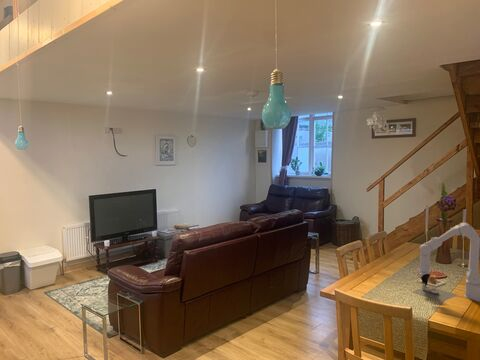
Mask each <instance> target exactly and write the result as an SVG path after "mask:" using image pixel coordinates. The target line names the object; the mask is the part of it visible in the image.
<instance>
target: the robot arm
mask: <svg viewBox="0 0 480 360" xmlns="http://www.w3.org/2000/svg"><path fill="white" fill-rule="evenodd" d="M461 235H462V236H464V237H466V238H467V239H468V240H469V256H468V266H467V270H466V271H465V276H466V280H465V294H463V296H464V297H465V298H466V299H469V300H472V301H475V302H480V270H479V265H480V262H479V261H480V236H479V234H478V233H477V232H476V230H475V229H474V227H473V226H472V225H470V224H469V223H467V222H460V223H459V224H457V225H454V226H453V227H452V228H450V229H448V230H447V231H446V232H445V233H443V234H442V235H440V236H439V237H438V236H433V237H431V238H430V240H428V241H427V242H424V243H422V244H420V246H419V251H420V253H419V269H417V271H418V273H417V275H418V277H419V278H420V280H422V282H425V283H426V284H425V286H426V287H427V286H428V285H427V283H428V279H429V277H430V275H431V272H432V268H431V256H430V254H431V252H433V251H434V250H436V249H438V248H439V247H440V246H441V247H442V245H443V242H445V241H446V240H448V239H450V238H452V237H453V236H461Z"/></svg>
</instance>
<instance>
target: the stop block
mask: <svg viewBox="0 0 480 360" xmlns="http://www.w3.org/2000/svg"><path fill="white" fill-rule="evenodd" d="M436 279H437V276H436V275H435V274H430V277H429V279H428V282H427V283H431V284H434V285H436V284H437V282H436Z"/></svg>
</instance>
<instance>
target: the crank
mask: <svg viewBox="0 0 480 360" xmlns="http://www.w3.org/2000/svg"><path fill="white" fill-rule="evenodd" d="M425 284H426V283H425V282H421V289H422V290H425V291H428V292H431V293H432V294H436V295H437V294H439V290H437V289H438V288H437V289H432V288H429V287H427V286H425Z"/></svg>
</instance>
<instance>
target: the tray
mask: <svg viewBox="0 0 480 360" xmlns="http://www.w3.org/2000/svg"><path fill="white" fill-rule="evenodd" d="M418 282H419V283H421V282H422V279H419V280H418ZM421 284H422V283H421ZM443 285H446V282H445V281H443V280H439V279H437V278H436V284H431V283H428V282H427V286H431V287H434V288H438V287H440V286H443Z"/></svg>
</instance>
